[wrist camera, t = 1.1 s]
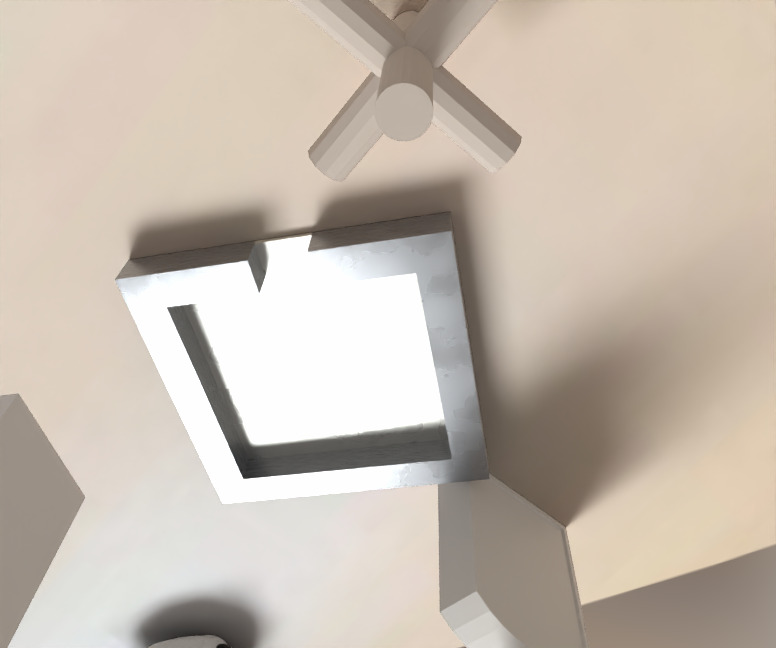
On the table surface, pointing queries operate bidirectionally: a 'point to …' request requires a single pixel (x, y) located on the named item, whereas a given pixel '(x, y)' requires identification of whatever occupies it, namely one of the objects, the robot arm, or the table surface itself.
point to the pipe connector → (406, 83)
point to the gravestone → (505, 570)
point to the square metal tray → (318, 358)
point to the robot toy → (193, 642)
